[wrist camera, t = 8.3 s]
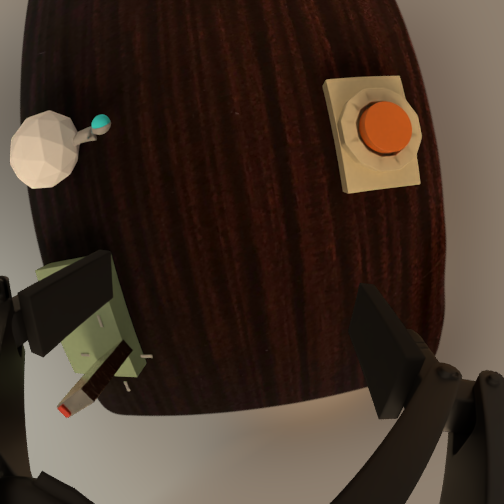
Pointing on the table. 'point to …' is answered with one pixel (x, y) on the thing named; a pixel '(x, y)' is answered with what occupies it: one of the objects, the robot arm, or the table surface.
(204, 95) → the table surface
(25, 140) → the perfume bottle
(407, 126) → the button
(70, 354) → the clamp block
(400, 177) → the box
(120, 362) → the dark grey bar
